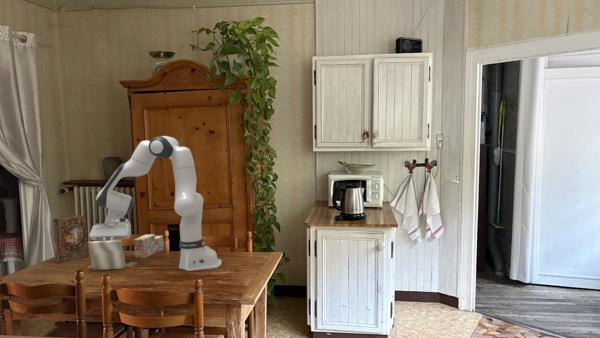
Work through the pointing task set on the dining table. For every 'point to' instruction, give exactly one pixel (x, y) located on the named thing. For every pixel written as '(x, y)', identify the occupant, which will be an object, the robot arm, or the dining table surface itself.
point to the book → (70, 238)
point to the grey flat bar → (128, 264)
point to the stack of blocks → (148, 245)
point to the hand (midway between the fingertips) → (106, 245)
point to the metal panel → (106, 254)
